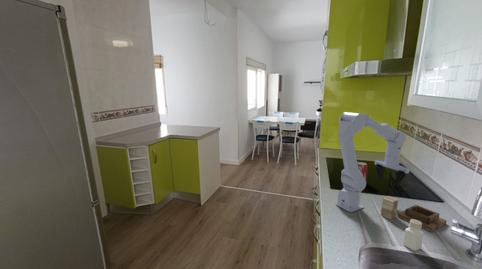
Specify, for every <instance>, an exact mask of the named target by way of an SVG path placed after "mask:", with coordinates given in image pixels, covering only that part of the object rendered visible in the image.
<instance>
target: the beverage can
mask: <svg viewBox="0 0 482 269" xmlns="http://www.w3.org/2000/svg"><path fill="white" fill-rule="evenodd" d="M357 165H358V169H359V170H360V172H361V173H362V174H363V177H364V179H365V180H366V181H367V175H368V169H369V168H368V167H369V166H368V164H367V163H366V162H362V161H357Z"/></svg>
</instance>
